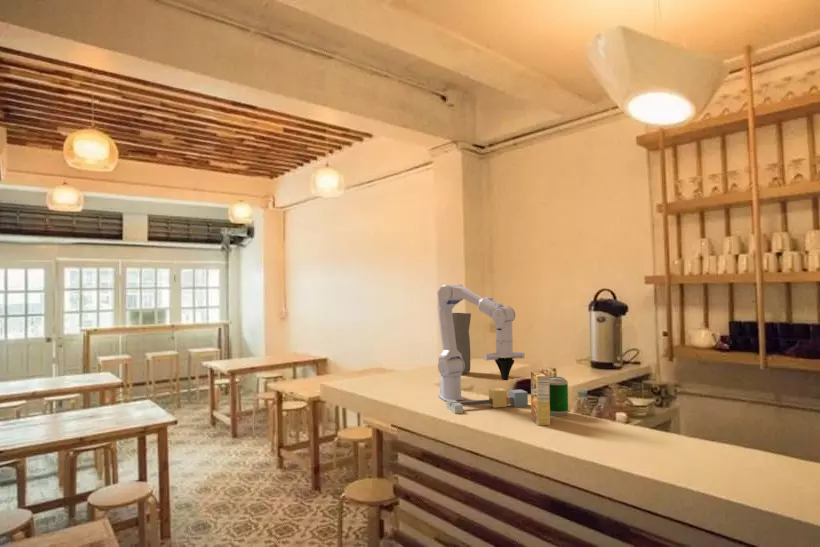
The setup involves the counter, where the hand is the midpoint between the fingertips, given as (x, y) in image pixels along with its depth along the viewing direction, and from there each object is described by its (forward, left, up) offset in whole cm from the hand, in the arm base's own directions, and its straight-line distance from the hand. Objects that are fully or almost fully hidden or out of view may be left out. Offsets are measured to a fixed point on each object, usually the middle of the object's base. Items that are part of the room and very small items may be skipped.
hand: (504, 379), depth 170 cm
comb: (-5, -17, -10) cm, 21 cm away
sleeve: (-5, -1, -10) cm, 12 cm away
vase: (-75, +11, -11) cm, 77 cm away
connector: (-5, +7, -10) cm, 14 cm away
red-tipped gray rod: (-5, -7, -10) cm, 13 cm away
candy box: (+17, +4, -11) cm, 20 cm away
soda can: (+10, +14, -11) cm, 20 cm away
